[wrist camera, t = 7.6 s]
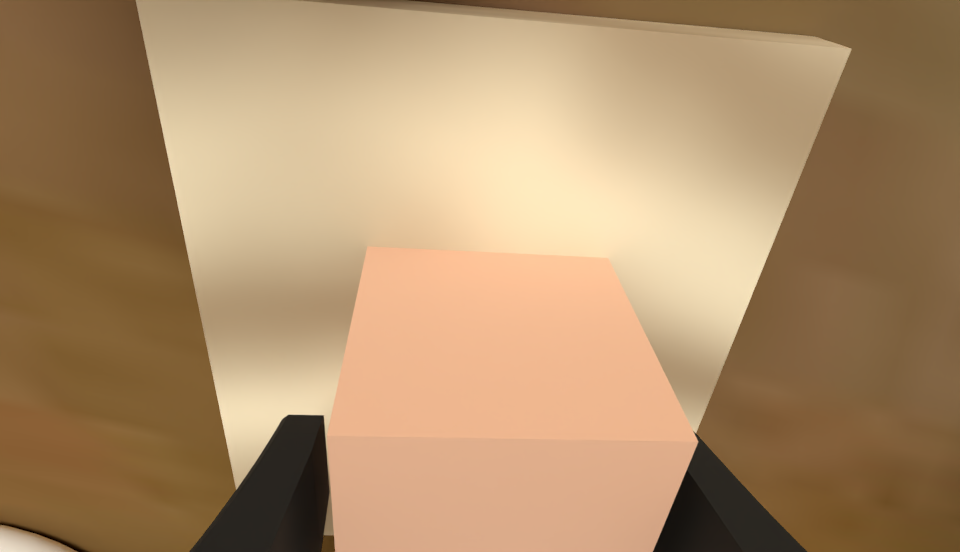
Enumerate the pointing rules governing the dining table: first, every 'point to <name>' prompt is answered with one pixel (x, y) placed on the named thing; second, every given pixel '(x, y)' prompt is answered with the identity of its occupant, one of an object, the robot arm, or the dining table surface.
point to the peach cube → (500, 409)
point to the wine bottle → (27, 542)
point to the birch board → (467, 170)
